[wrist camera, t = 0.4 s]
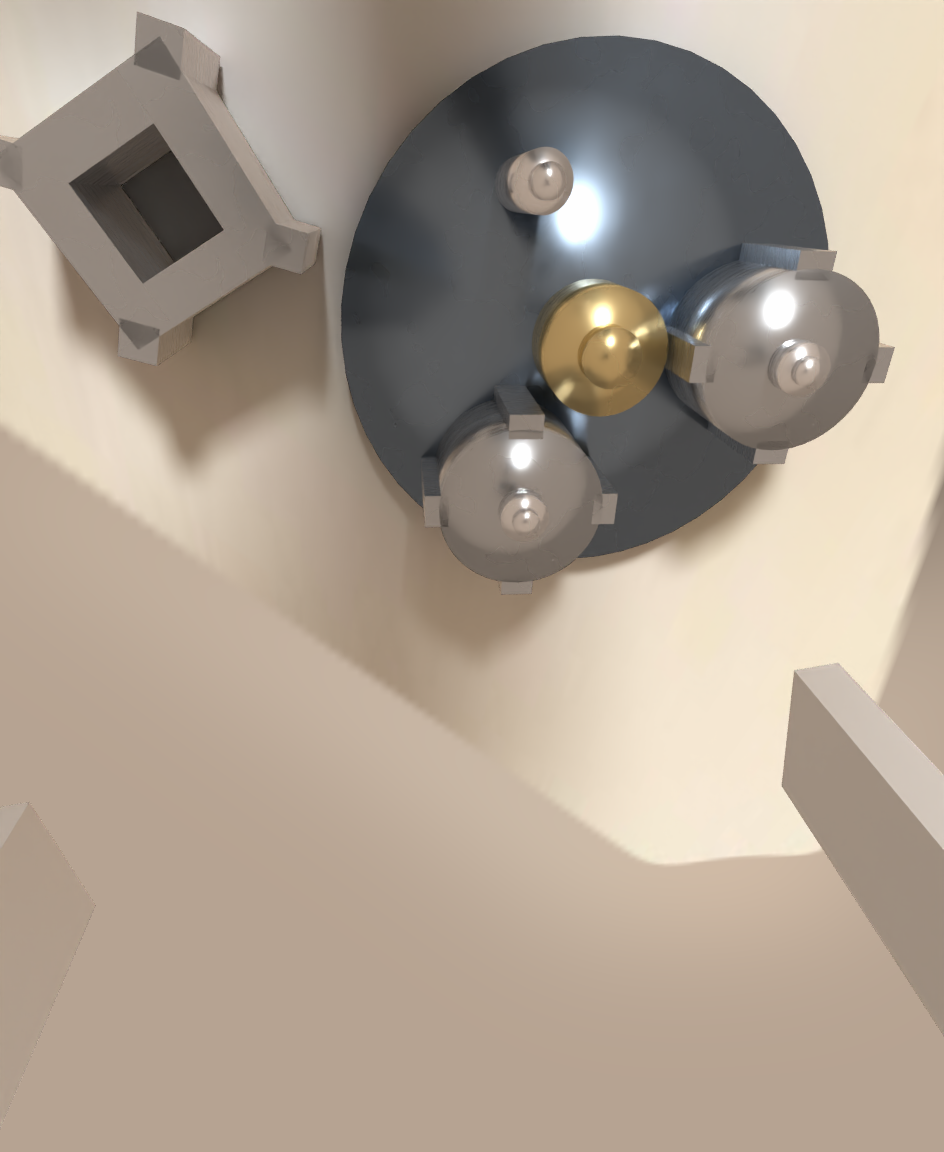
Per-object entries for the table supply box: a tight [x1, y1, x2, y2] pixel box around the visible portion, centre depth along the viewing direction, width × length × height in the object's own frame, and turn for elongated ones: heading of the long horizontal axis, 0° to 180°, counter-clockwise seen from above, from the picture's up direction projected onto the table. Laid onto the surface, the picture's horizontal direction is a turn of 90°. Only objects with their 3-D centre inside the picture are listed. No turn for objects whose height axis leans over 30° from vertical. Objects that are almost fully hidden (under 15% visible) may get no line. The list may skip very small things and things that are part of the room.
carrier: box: [341, 36, 895, 595], centre depth 29 cm, size 22×22×8 cm
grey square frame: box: [0, 12, 321, 366], centre depth 26 cm, size 9×9×5 cm
